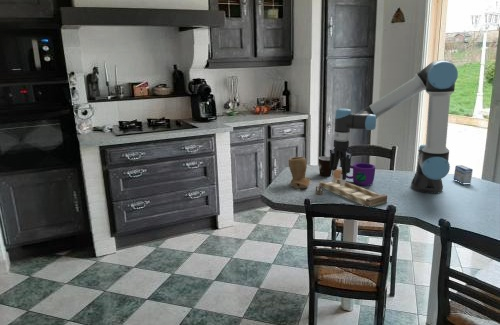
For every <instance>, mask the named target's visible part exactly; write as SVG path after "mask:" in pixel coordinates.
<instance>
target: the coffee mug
mask: <svg viewBox="0 0 500 325" xmlns="http://www.w3.org/2000/svg"><path fill="white" fill-rule="evenodd" d="M329 165H330V156H318V167H319V169H318V170H319V176H320V177H324V178H329V177H331V176H332V169H331V168H330V167H329Z"/></svg>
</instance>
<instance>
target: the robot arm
mask: <svg viewBox="0 0 500 325" xmlns="http://www.w3.org/2000/svg"><path fill="white" fill-rule="evenodd" d="M458 77H459V72H458V69H457V67H456V65H455V64H454V63H453V62H451V61H448V60H443V59H436V60H434V61H432V62H430V63H429V64H427V66H425V67H424V68H422V69H421V70H419V71H418V72H416V73H415V75H414V77H413V78H411V79H409V80H408V81H406V82H405V83H403V84H402V85H400V86H399V87H397V88H396V89H394V90H392V91H390V92H388V94H386V95H384V96H383V97H381V98H380V99H378V100H376V101H375V102H373V103H371V104H370V105H369V106H367V107H365V108H363V109H361V110H359V111H358V112H357V113H353V112H352V110H351V109H350V108H337V109H336V110H335V116H334V131H333V132H334V133H333V139H334V140H333V148H332V149H331V148H330V149H329V157H330V165H329V167H330V168H331V169H332V172H331V176H332V178H331V179H332V180H331V182H332V183H335V182H337V178H336V177H335V176H334V172H335V171H336V170H337V169H338V165H339V162H340V164H341V165H340V167H341V168H340V169H341V170H342V173H341V177H340V186H343V185H345V181H346V180H347V178H346V175H348V174H350V173H351V168H350V165H351V163H352V162H351V161H352V156H353V154H351V153H349V151H348V149H349V148H350V147H349V146H350V133H351V132H350V131H351V130H366V131H370V130H371V131H374V130H376V127H377V119H378V118H380V117H381V116H383V115H385V114H386V113H389V112H390V111H391V110H393V109H394V108H397V107H398V106H400V105H401V104H402V103H405V102H406V101H408V100H409V99H411V98H413V97H414V96H416V95H418V94H419V93H422V92H423V91H425V92H426V93H427V95H428V96H429V97H428V106H427V107H428V109H427V110H428V111H427V123H426V139H425V144H421V145H420V146H419V148H418V155H417V162H416V171H415V174H414V176H413V178H412V180H411V183H410V187H411V189H412V190H414V191H417V192H420V193H425V194H439V193H438V192H440V193H442V192H443V191H442V190H444V189H443V188H444V185H443V181H442V179H444V178H445V177H446V176H447V175H448V174H449V172H450V170H451V169H450V168H451V166H450V162H449V158H450V149H449V148H448V147H447V138H448V136H447V135H448V127H449V126H448V125H449V113H450V100H451V95H452V94H453V93H454V92H455V86H456V82H457V80H458ZM441 191H442V192H441Z"/></svg>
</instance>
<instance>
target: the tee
mask: <svg viewBox="0 0 500 325" xmlns="http://www.w3.org/2000/svg"><path fill="white" fill-rule="evenodd" d="M323 193H324V188H323V187H320V186H319V185H316V186H315V194H316V195H319V196H320V195H323Z"/></svg>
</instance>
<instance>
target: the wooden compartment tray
mask: <svg viewBox="0 0 500 325" xmlns="http://www.w3.org/2000/svg"><path fill="white" fill-rule="evenodd" d="M318 184H319V185H318V187H319V186H320V188H322V187H323V190H327V191H329V192H331V193H334V194H335V195H339V196H341V197H343V198H346V199H347V200H351V201H353V202H355V203H357V204H359V205H362V206H364V205H366V206H373V207H376V206H379V205H383V204H386V203H387V202H388V195H387V194H385V193H383V194H380V193H376V192H374V191H372V190H369V189H366V188H364V187H362V186H360V185H357V184H355V183H350V182H348V181H346V180H345V185H343V186H340V179H337V182H335V183H332V181H330V182H324V181H323V180H322V181H319V182H318ZM366 206H365V207H366Z"/></svg>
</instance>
